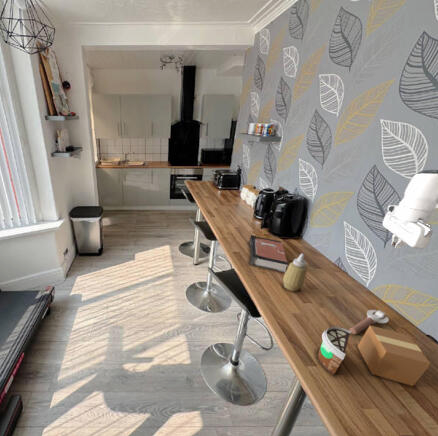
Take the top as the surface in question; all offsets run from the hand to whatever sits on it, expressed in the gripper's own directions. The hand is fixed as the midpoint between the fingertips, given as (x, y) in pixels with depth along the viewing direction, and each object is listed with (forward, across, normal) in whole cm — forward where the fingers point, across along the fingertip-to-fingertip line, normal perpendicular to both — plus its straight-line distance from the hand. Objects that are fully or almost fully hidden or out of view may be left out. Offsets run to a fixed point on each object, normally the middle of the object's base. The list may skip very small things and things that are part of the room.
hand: (395, 247), depth 91 cm
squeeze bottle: (+26, -3, +31) cm, 41 cm away
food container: (+26, -38, +27) cm, 54 cm away
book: (+26, +22, +38) cm, 51 cm away
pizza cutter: (+27, -17, +7) cm, 32 cm away
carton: (+27, -34, +10) cm, 44 cm away
